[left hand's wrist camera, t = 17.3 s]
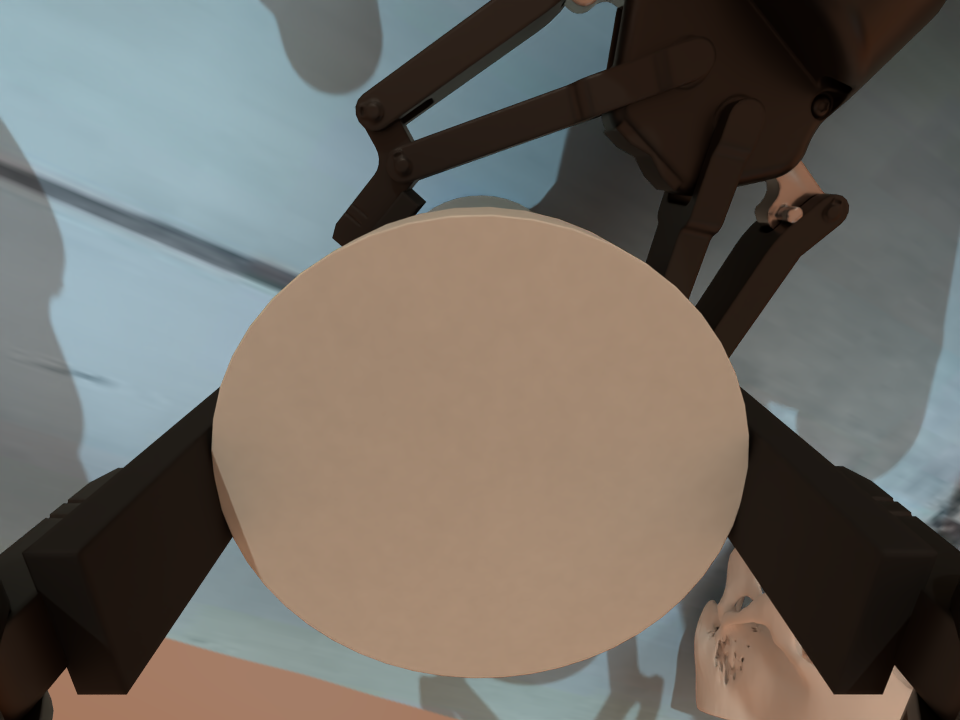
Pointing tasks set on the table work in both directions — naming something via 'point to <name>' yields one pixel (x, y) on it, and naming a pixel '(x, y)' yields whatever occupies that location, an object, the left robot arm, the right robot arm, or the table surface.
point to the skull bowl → (770, 664)
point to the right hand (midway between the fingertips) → (414, 398)
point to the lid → (480, 444)
